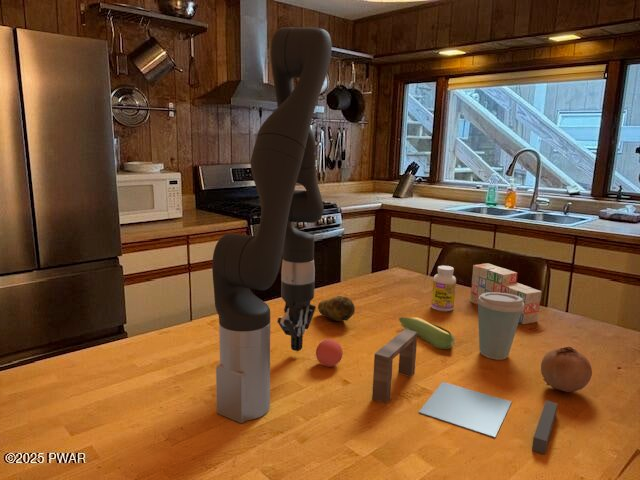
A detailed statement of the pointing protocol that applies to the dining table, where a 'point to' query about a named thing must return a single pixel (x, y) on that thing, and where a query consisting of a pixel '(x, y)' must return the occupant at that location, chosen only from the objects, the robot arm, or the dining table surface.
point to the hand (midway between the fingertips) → (296, 349)
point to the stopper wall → (544, 427)
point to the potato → (337, 308)
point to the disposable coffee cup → (498, 323)
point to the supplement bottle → (443, 289)
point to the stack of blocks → (505, 288)
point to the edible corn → (429, 332)
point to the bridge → (384, 359)
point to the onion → (566, 369)
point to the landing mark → (467, 409)
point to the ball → (329, 352)
